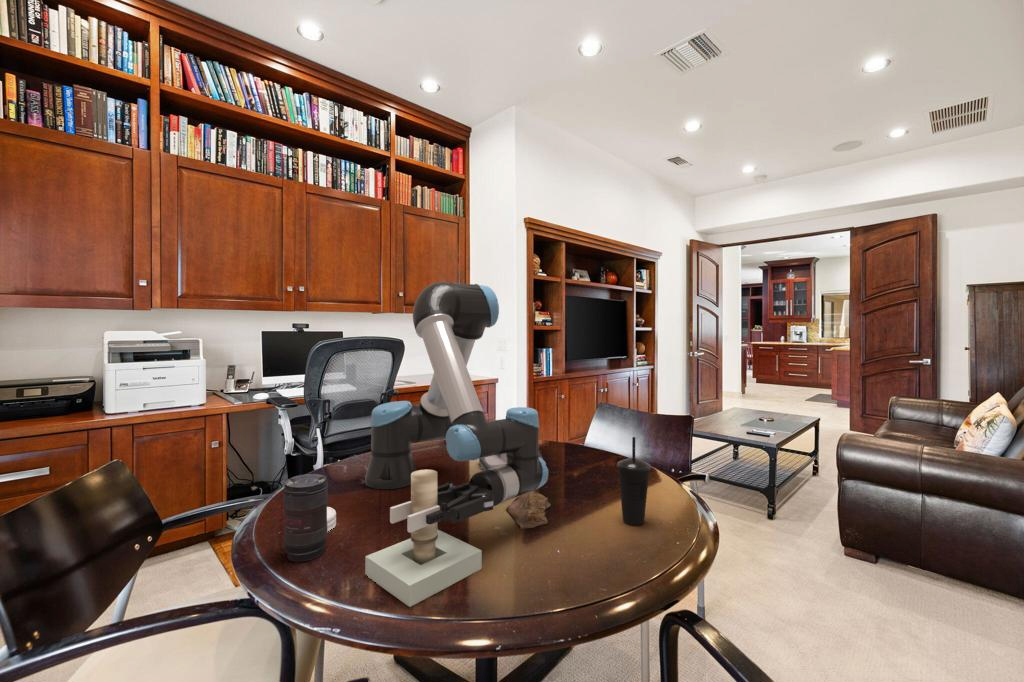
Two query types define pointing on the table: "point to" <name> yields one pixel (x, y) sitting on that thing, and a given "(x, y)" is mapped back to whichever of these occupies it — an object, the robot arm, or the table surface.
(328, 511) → the coaster
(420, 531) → the leg
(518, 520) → the wooden fragment
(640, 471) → the drinking cup
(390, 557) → the board
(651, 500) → the table surface
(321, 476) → the camera lens
